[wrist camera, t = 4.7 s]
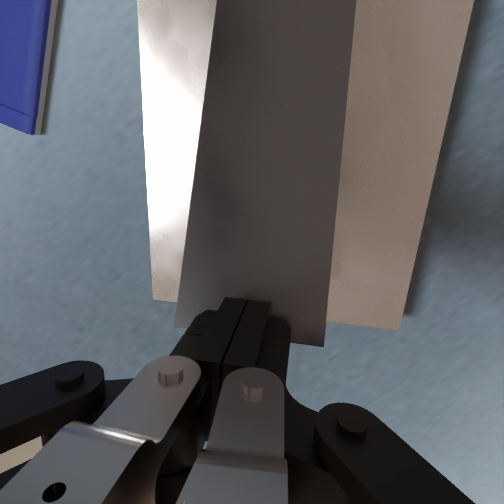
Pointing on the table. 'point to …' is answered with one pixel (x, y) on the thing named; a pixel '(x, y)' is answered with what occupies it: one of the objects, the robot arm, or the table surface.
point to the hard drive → (25, 61)
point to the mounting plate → (353, 152)
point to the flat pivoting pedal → (269, 161)
